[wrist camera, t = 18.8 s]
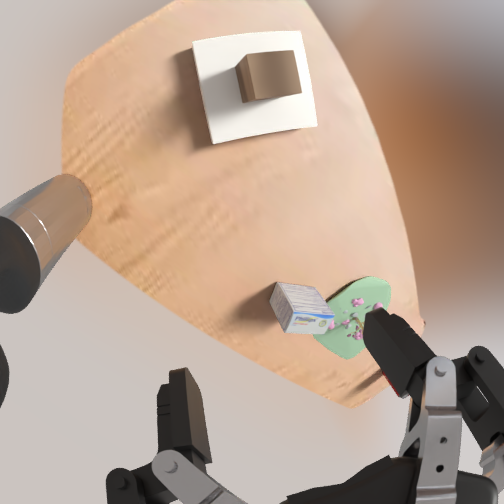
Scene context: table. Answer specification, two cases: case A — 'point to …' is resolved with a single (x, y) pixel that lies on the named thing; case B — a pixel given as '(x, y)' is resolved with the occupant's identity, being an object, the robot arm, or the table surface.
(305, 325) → the medicine box
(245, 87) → the walnut block
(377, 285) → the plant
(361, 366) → the table surface
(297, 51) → the stand
